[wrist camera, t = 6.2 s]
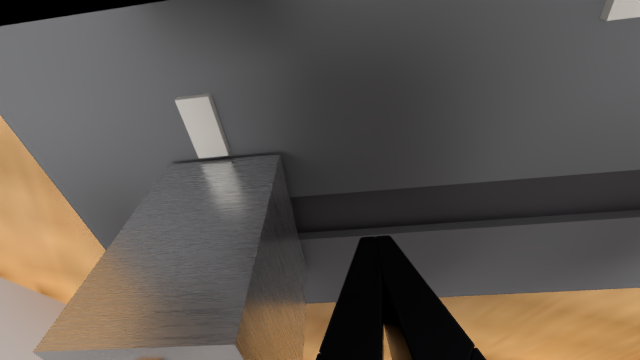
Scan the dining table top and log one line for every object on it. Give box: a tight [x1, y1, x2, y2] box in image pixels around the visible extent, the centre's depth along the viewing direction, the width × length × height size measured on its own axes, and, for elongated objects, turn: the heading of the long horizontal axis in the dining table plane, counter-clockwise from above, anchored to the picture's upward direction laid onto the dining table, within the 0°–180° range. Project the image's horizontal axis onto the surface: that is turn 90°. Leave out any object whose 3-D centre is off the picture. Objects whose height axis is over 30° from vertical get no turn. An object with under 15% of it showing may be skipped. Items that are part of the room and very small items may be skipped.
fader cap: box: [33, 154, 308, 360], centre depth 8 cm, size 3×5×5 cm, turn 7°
